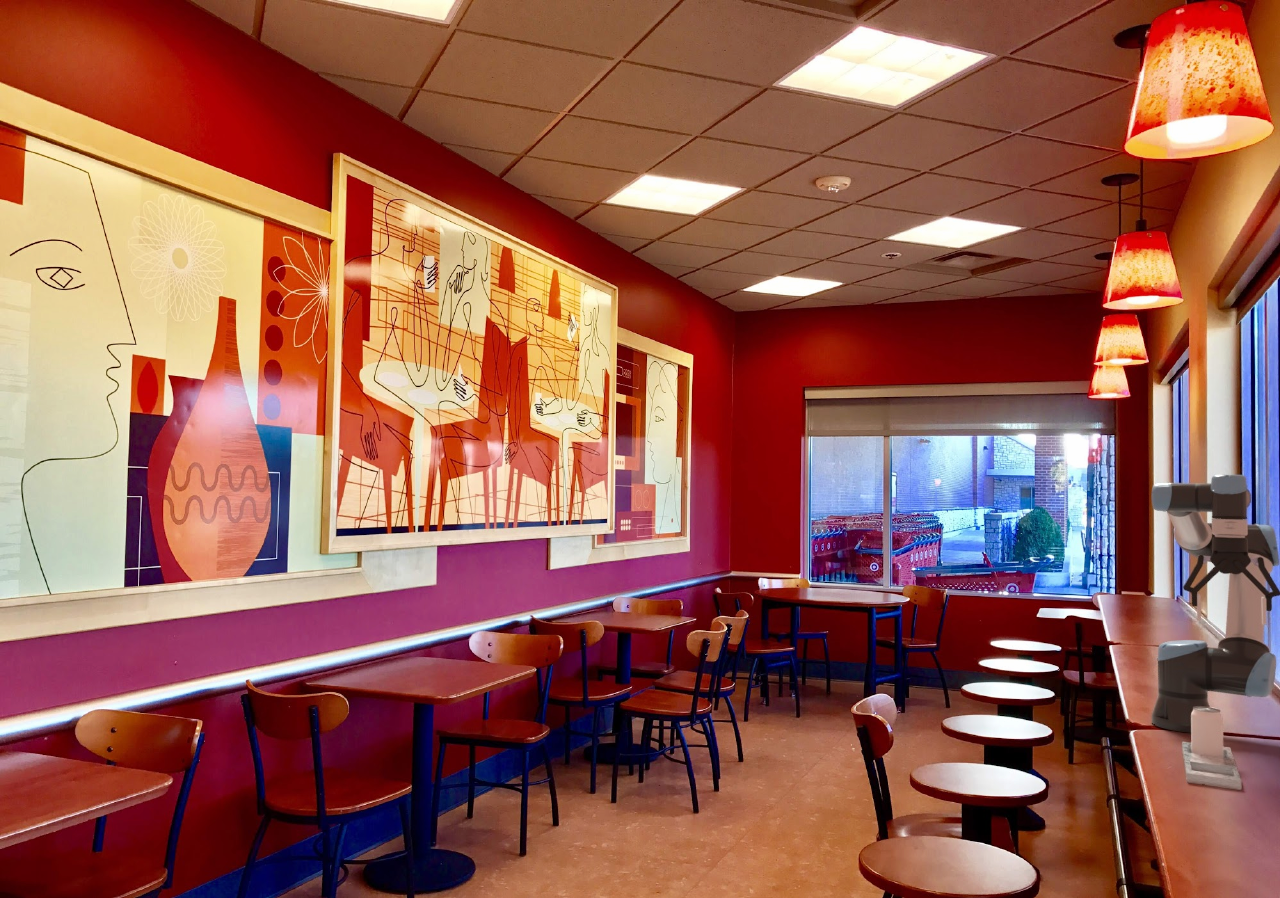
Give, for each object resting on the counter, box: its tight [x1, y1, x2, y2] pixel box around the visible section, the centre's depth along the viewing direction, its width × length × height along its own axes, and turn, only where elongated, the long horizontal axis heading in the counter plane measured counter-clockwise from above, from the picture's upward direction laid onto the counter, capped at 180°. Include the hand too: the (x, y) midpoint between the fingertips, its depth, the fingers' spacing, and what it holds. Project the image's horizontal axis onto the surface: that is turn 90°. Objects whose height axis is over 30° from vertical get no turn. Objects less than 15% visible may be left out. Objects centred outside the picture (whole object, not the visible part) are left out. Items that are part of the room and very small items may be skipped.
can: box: [1190, 706, 1224, 757], centre depth 216 cm, size 6×6×12 cm
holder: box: [1181, 741, 1242, 791], centre depth 209 cm, size 30×10×2 cm, turn 151°
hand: (1231, 622), depth 225 cm, fingers open, 13 cm apart
